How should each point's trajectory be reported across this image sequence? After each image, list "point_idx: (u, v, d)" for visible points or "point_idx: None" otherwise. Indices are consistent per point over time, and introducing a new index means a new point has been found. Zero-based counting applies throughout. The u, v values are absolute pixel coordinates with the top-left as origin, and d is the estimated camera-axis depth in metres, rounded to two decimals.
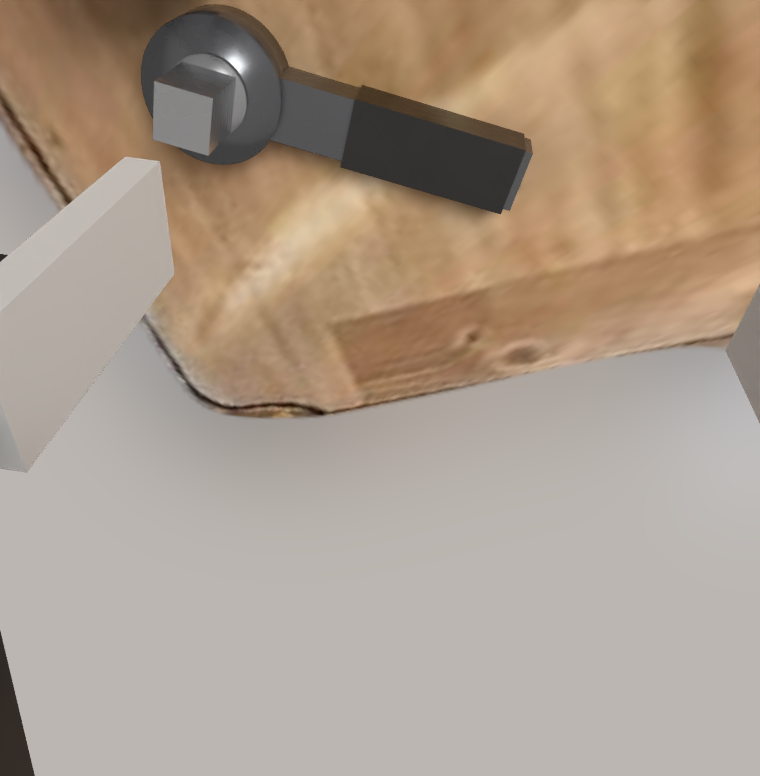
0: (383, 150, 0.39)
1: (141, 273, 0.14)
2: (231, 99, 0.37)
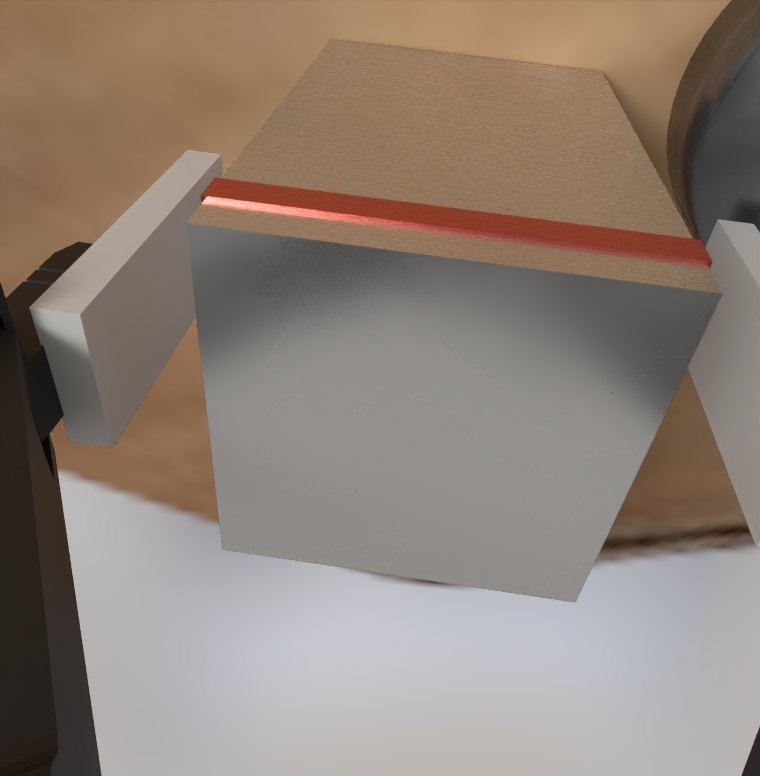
0: None
1: None
2: None
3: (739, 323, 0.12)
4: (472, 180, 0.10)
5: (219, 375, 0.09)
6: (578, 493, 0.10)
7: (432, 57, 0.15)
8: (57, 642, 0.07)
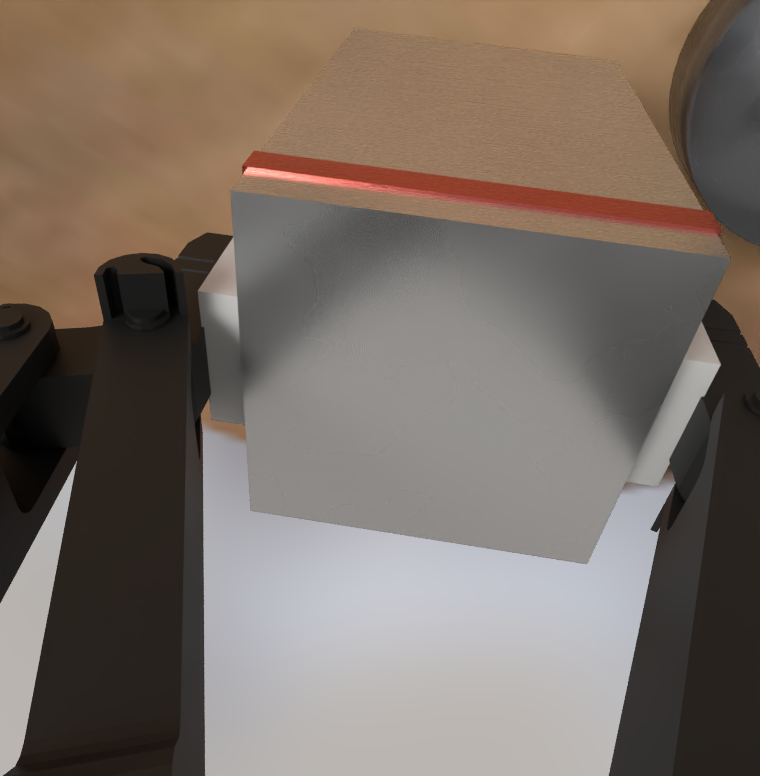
0: None
1: None
2: None
3: None
4: (493, 156, 0.10)
5: (255, 337, 0.10)
6: (592, 454, 0.11)
7: (452, 45, 0.16)
8: (188, 623, 0.07)
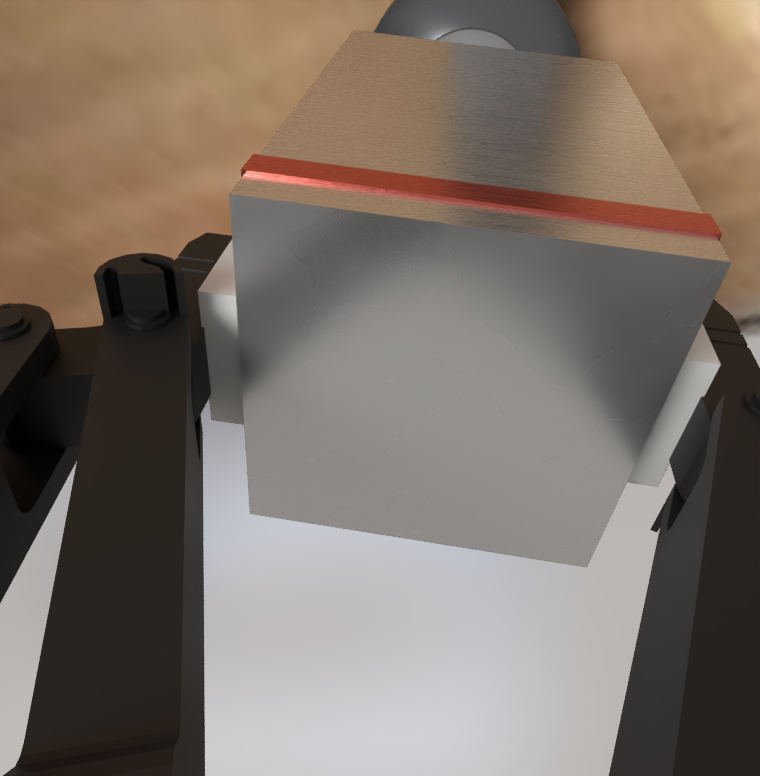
0: None
1: None
2: None
3: None
4: (493, 159, 0.10)
5: (254, 341, 0.10)
6: (591, 458, 0.11)
7: (452, 47, 0.16)
8: (188, 624, 0.07)
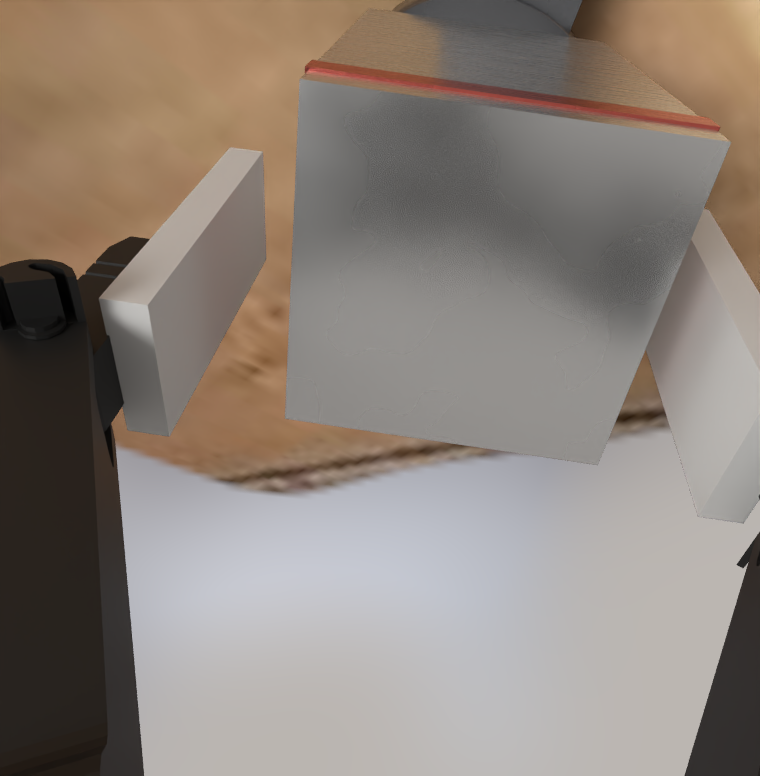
0: None
1: (246, 257, 0.15)
2: None
3: (689, 304, 0.13)
4: (517, 80, 0.12)
5: (307, 229, 0.11)
6: (606, 345, 0.12)
7: (459, 23, 0.17)
8: (110, 631, 0.07)
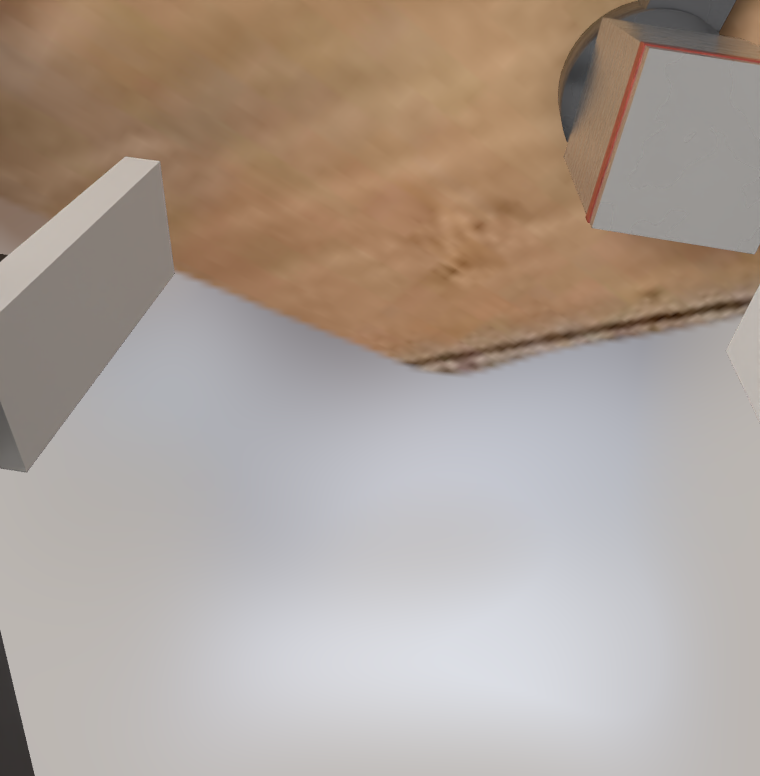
0: None
1: (141, 273, 0.14)
2: None
3: None
4: (728, 52, 0.24)
5: (633, 120, 0.24)
6: None
7: (658, 26, 0.30)
8: None
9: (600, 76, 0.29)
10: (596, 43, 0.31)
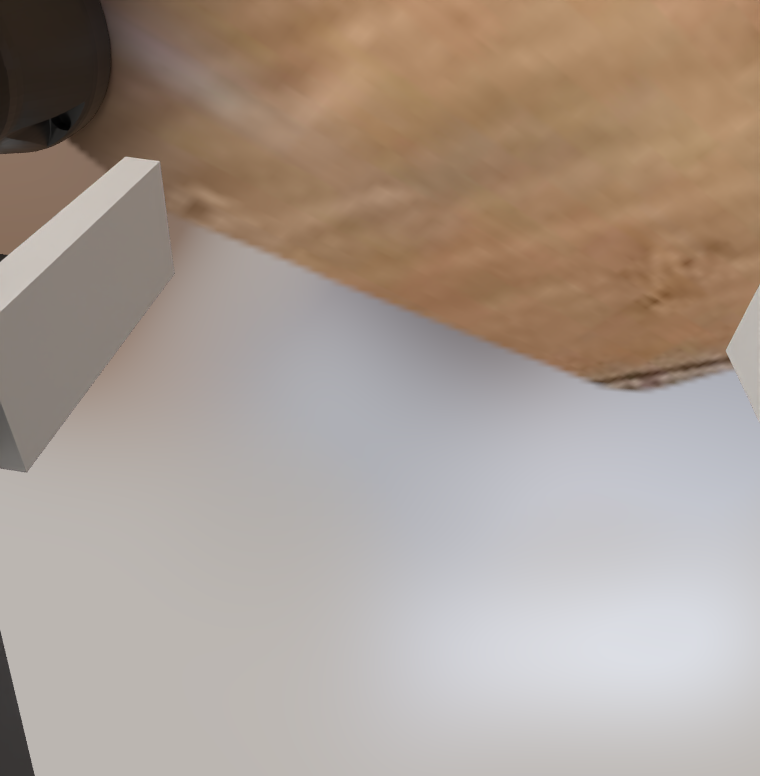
0: None
1: (141, 273, 0.14)
2: None
3: None
4: None
5: None
6: None
7: None
8: None
9: None
10: None
